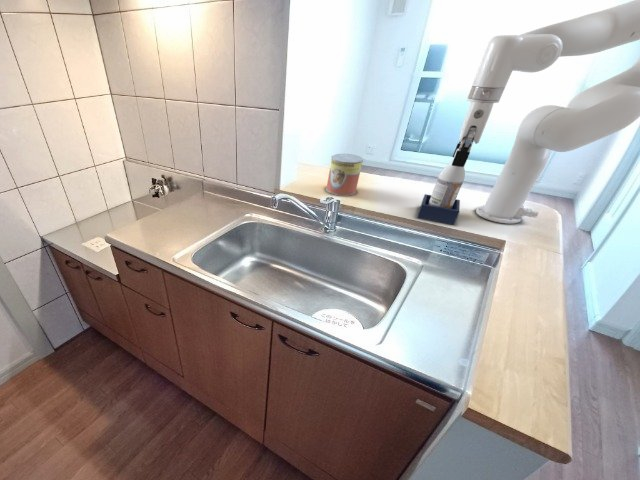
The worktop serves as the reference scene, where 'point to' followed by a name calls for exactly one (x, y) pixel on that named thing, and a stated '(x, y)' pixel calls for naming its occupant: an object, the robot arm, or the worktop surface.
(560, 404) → the worktop surface
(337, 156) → the canned food
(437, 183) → the bath foam
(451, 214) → the holder
